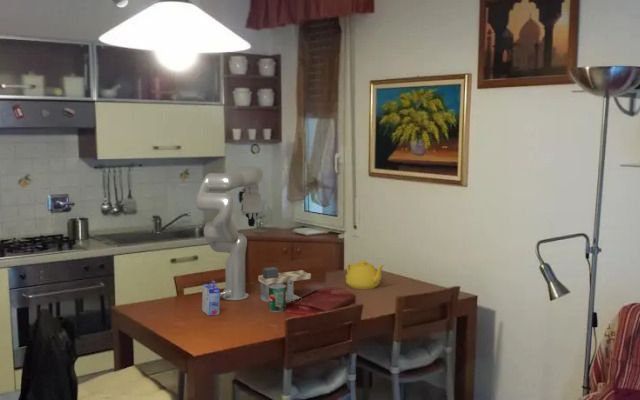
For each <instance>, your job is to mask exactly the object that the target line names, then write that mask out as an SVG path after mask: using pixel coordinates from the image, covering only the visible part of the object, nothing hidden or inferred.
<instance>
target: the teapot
mask: <svg viewBox="0 0 640 400" xmlns="http://www.w3.org/2000/svg"><path fill="white" fill-rule="evenodd" d="M384 266H385V264H381V265H379V266H377V268H376V267H375V265H374V264H373V263H369V262H367V260H366V259H361V260H359V262H355V263H353V262H351V263H348V264H347V265H346V272H347V274H346V275H345V282H346V284H347V285H348V286H349V288H351V289H355V290H372V289H375V288H377V287H378V285H380V282H381V279H382V269H383V267H384Z"/></svg>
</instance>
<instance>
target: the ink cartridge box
mask: <svg viewBox="0 0 640 400" xmlns="http://www.w3.org/2000/svg"><path fill="white" fill-rule="evenodd" d="M215 284H216V281H215V280H214V279H212V280H211V282H210V283H209V284H208V283H207V284H206V283H205V284H202V292H201V293H202V299H201V302H202V303H201V306H202V307H201V311H202V312H203V313H205V314H206V315H207V316H208V317H211V316H219V315H220V312H221V311H220V309H221V308H220V307H221V306H220V305H221V304H220V303H221V302H220V300H221V299H220V298H221V296H220V292H221V288H220V287H219V286H217V285H215Z"/></svg>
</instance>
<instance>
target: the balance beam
mask: <svg viewBox="0 0 640 400" xmlns="http://www.w3.org/2000/svg"><path fill="white" fill-rule="evenodd" d="M257 278H258V282H260V283H261V282H262V283H264V284H266V285H267V284H269V285H272V284H276V283H287V280H293V282H297V281H304V280H310V279H312V274H311V273H309V272H306V271H304V270H302V269H301V270H295V271H285V272H278V277H277V278H270V279H265V278H263V274H261V275H258V277H257Z"/></svg>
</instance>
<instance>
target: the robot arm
mask: <svg viewBox="0 0 640 400" xmlns="http://www.w3.org/2000/svg"><path fill="white" fill-rule="evenodd" d="M263 175H264V173H263V171H262V169H261V168H260V167H257V166H243V167H242V166H240V167H237V168H236V169H233V170H230V171H228V172H224V173H218V172H217V173H215V172H213V173H212V172H211V173H210V172H209V173H206V175H205V176H204V178H203V179H202V182H201V184H200V186H199V187H200V188H199V189H198V192H197V195H196V198H195V206H196V208H197V210H199V211H201V212H202V211H203V212H218V213H217V214H216V216H215V217H214V218H213V220H212V221H208V222H207V223H205V225H204V227H203V236H204V239H205V241H206V242H207V244H208V245H209V247H210V248H211V249H212V251H214V252H216V253H227V254H229V255H228V257H227V258H226V260H225V263H224V264H225V266H224V267H225V268H224V269H225V274H224V275H225V288H224V289H223V291H222V292H221V291H220V297H222V299H223V300H225V301H226V300H227V301H242V300H246V299H248V298H249V293H246V252H247V246H248V239H247V237H246V236H245V235H244V234H242V233H239V232H238V229H237V227H236V225H235V223H234V221H233V220H232V215H233V211H234V210H233V209H234V199H233V197H232V196H231V195H229V194H227V193H222V192H230V191H232V190H236V189H237V188H241V191H240V192H243V193H242V196H241V202H240V203H241V205H240V211H241V213H240V214H241V216H245V217H246V218H247V220H248V222H247V224H248V226H249V227H255V223H256V222H255V221H256V218H257V216H260V215H262V211H263V204H262V203H263V201H262V196H261V193H260V188H259V187H260V185H259V183H260V182H262V180H263Z"/></svg>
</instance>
